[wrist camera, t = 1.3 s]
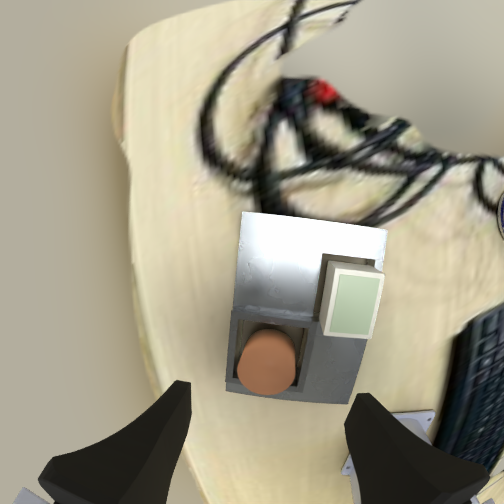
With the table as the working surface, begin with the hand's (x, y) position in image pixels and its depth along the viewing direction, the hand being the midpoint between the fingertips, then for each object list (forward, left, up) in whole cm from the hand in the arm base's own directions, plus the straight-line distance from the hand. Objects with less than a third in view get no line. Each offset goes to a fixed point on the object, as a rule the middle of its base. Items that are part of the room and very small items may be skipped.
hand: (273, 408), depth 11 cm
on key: (+3, -4, -9) cm, 10 cm away
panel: (+1, -1, -11) cm, 11 cm away
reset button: (-2, +1, -9) cm, 9 cm away
